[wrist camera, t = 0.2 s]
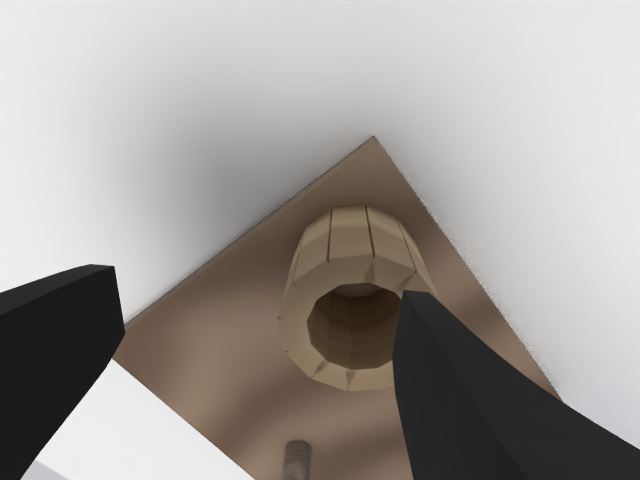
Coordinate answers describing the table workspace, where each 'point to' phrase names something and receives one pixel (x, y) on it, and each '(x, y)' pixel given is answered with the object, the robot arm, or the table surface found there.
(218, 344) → the fabric cloth
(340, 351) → the bead
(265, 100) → the table surface
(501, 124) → the table surface
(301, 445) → the silver metal cylinder
